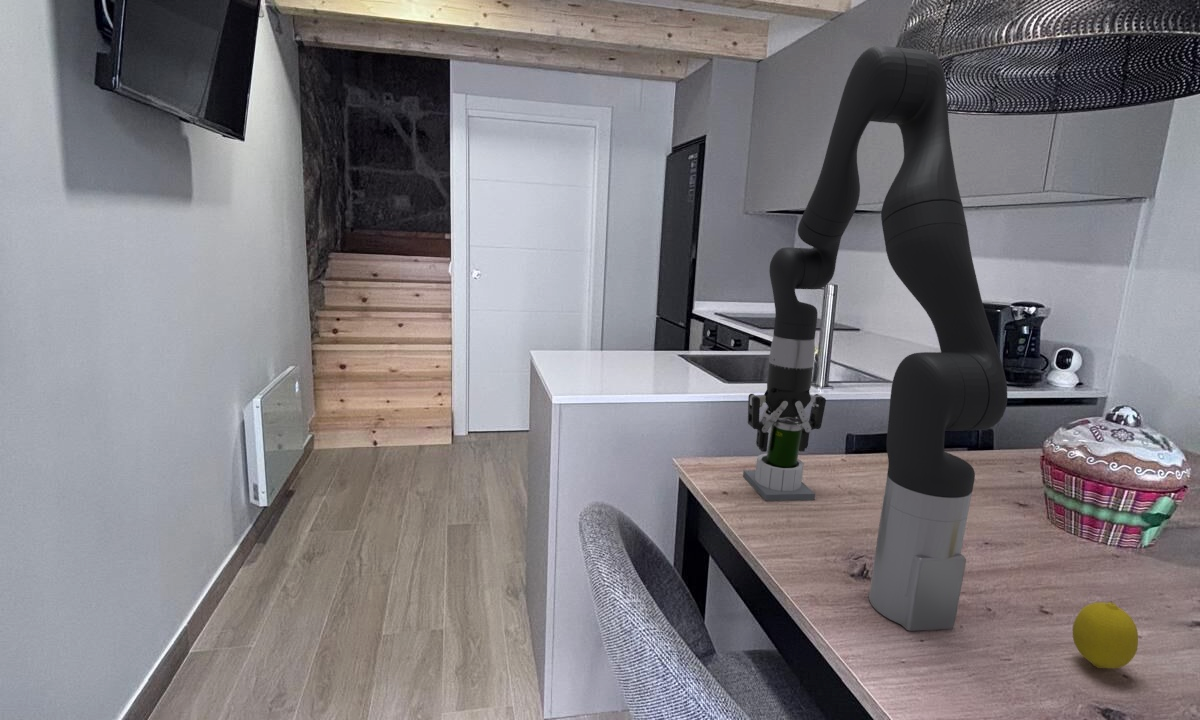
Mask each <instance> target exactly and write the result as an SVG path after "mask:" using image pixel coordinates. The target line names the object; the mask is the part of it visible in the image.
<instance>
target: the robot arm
mask: <svg viewBox="0 0 1200 720" xmlns="http://www.w3.org/2000/svg"><path fill="white" fill-rule="evenodd" d="M946 84H947V83H946V77H945V71H944V67H943V65H942V62H941V60H940V59H939V57H938V56H936V55H935V54H934V53H931V52H929V51H926V50H922V49H914V48H913V49H912V48H907V47H906V48H904V47H898V46H897V47H895V46H887V45H876V46H875V45H874V46H871V47H868V48H867V49H865V50H864V51H863V52H862V53H861V54H860V55H859V57H858V58H857V59H856V61H855V63H854V64H853V66H852V68H851V70H850V72H849V75H848V77H847V80H846V82H845V85H844V88H843V91H842V95H841V99H840V101H839V105H838V109H837V113H836V115H835V119H834V124H833V126H832V129H831V133H830V137H829V140H828V145H827V148H826V152H825V156H824V160H823V163H822V167H821V170H820V173H819V176H818V178H817V181H816V184H815V186H814V189H813V191H812V194H811V197H810V198H809V200H808V203H807V205H806V207H805V208H804V210H803V211H804V212H803V214H802V216H801V218H800V221H799V223H798V227H797V234H798V238H800V240H801V241H803V243H805V244H806V245H809V246H811V247H812V248H811V247H792V246H791V247H789V246H788V247H782V248H780V249H778V250H777V251H776V252H775V253H774V255H772V258H771V260H770V262H769V277H770V283H771V289H772V293H773V295H772V296H773V302H774V309H775V310H774V311H775V316H774V317H775V318H774V324H773V325H774V326H773V336H772V342H771V344H770V349H769V351H770V353H769V357H768V360H769V362H768V370H767V371H768V372H767V379H766V391H765V392H764V394H757V395H756V394H754V393H750V394H749V395H748V396H747V397H748V400H747V425H749V426H750V427H751V428H752V429H754V430H757V431H756V440H755V441H756V442H755V444H756V446H757V448H758V449H759V450H760V451H761V452H762V453H763V452H764V453H765V452H768V445H769V435H770V434H769V432H768V431H769V430H770V429H771V426H772V424H773V423H775V422H776V421H777V419H778V418H785V417H790V418H797V419H798V420H800V421H801V422H802V427H803V428H802V434H801V440H800V446H799V452H805V450H806V449H807V448H808V446H809V440H810V439H809V438H810V433H811V432H812V431H813V430H820V429H821V428H822V423H823V417H824V413H825V410H826V409H825V408H826V403H827V400H826V397H823V396H822V395H820V394H819V393H817V394H816V393H815V394H814V395H813V394H811V393H810V390H811V387H812V380H813V379H812V378H813V373H814V371H813V370H814V361H815V355H816V354H815V352H816V351H815V350H816V347H815V345H816V344H815V342H816V330H817V323H818V309H817V308H816V306H815V305H813V304H810V303H807V302H803V301H802V302H801V301H799V300H798V298H797V294H796V290H820V289H823V288H824V287H826V286H827V285H828V284H829V283H830V282H831V281H832V279H833V277H834V275H835V271H836V265H837V259H838V254H839V249H840V244H841V240H842V238H843V235H844V233H845V231H846V229H847V228H848V225H849V223H850V221H851V220H852V217H853V216H854V215H855V212H856V209H857V208H858V204H859V201H860V194H861V193H860V192H861V184H860V175H859V169H858V168H859V167H858V148H859V143H860V140H861V139H862V135H863V134H864V132H865V130H866V128H867V126H868V125H869V123H871V122H876V123H885V124H886V123H887V124H896V125H897V126H898V128H899V130H900V133H901V137H902V142H903V143H902V144H903V145H902V147H903V159H902V163H901V165H900V167H899V170H898V172H897V173H896V176H895V178H894V180H893V181H892V183H891V184H890V187H889V189H888V191H887V193H886V195H885V196H884V197H885V198H884V199H883V204H882V206H881V207H882V208H881V211H880V212H881V213H880V214H881V215H880V217H881V218H880V219H881V227H882V233H883V239H884V246H885V251H886V256H887V259H888V262H889V264H890V266H891V268H892V270H893V271H894V272H895V274H896V276H897V277H898V279H899V280H900V281H901V282H902V283H903V285H904V287H906V289H907V290H908V292H909V293H910V294H911V295H912V297H914V298H915V300H916V301H917V302H918V303H919V305H920V306H921V307H922V308H923V310H924V311H925V312H926V314H927V316H928V317H929V319H930V321H931V323H932V325H933V328H934V330H935V333H936V337H937V341H938V346H939V349H940V352H936V351H929V352H928V351H927V352H926V351H925V352H914V353H911V354H908V355H907V356H906V357H904V358H903V359H902V360H901V361H900V363H899V365H898V366H897V368H896V370H895V372H894V375H893V378H892V384H891V389H890V390H891V391H890V399H889V401H890V402H889V410H888V424H887V431H886V432H887V433H886V455H887V459H888V462H887V463H888V467H887V473H886V474H887V475H886V481H885V486H884V487H885V488H884V492H883V493H884V495H883V498H882V499H883V501H882V506H881V512H880V518H879V519H880V520H879V524H878V525H879V527H878V533H877V538H876V539H877V540H876V546H875V553H874V558H873V565H872V575H871V581H870V589H869V594H868V598H869V599H868V600H869V602H870V604H871V606H872V607H873V609H875V610H876V612H878V613H879V614H881V615H882V616H883V617H885V618H887V619H888V620H891V622H892V621H893V622H894V623H897V624H899V625H901V626H902V627H903V628H904V629H906V630H907V631H909V632H913V631H914V632H915V631H931V630H932V631H934V630H953V629H954V628H955V624H956V618H957V612H958V607H959V602H960V597H961V591H962V586H963V580H964V576H965V568H966V564H967V558H966V556H964V555H962V551H963V550H962V549H963V544H964V537H965V533H966V525H967V521H968V515H969V510H970V506H971V500H972V495H973V489H974V485H975V484H974V483H975V477H976V472H975V470H974V468H973V466H972V465H971V464H970V462H967V461H966V460H964V459H963V458H961V457H959V456H957V455H954V454H951V453H950V452H946V451H945V435H946V431H949V432H950V431H951V432H952V431H953V432H955V431H981V430H987V429H990V428H992V427H994V426H996V425H997V424H998V423H999V422H1000V421H1001V419H1002V418H1003V417H1004V414H1005V412H1006V409H1007V405H1008V385H1007V383H1008V382H1007V378H1006V374H1005V370H1004V365H1003V363H1002V360H1001V356H1000V354H999V353H1000V352H999V350H998V347H997V344H996V341H995V337H994V335H993V332H992V329H991V326H990V323H989V319H988V318H987V317H988V316H987V313H986V311H985V307H984V304H983V298H982V296H981V291H980V287H979V283H978V278H977V274H976V269H975V265H974V262H973V261H974V260H973V256H972V251H971V247H970V240H969V239H970V238H969V230H968V226H967V221H966V216H965V210H964V206H963V202H962V197H961V194H960V189H959V186H958V181H957V175H956V171H955V169H956V168H955V163H954V157H953V151H952V150H953V149H952V143H951V138H950V137H951V136H950V124H949V122H950V121H949V108H948V96H947V85H946ZM764 403H765V404H766V406H767V407H766V408H765V409H764V411H763V412H762V414H761V418H760V408H762V406H763V404H764ZM809 404H810V406H811V408H810V414H809V417H808V415H807V413H806V410H805V409H806V407H807V406H808V405H809Z"/></svg>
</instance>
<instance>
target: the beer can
mask: <svg viewBox="0 0 1200 720" xmlns="http://www.w3.org/2000/svg"><path fill="white" fill-rule="evenodd" d="M802 428H803V427H802V422H801V421H800V420H798V419H797V418H790V417H785V418H778V419H777V421H776V422H775V423H773V424H772V425H771V427H770V434H769V439H768V445H767V459H766V464H768V465H771V466H773V467H779V468H795V467H796V464H797V458H798V459H799V452H800V451H799V446H800V440H801V434H802Z"/></svg>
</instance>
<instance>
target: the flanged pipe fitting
mask: <svg viewBox="0 0 1200 720" xmlns="http://www.w3.org/2000/svg"><path fill="white" fill-rule="evenodd" d="M767 453H768V452H767ZM767 453H765V452H764V453H762V454H758V456H757V458H756V461H755V462H756V464H755V469H752V470H751V469H749V470H746V469H744V470H743V472H742V473H743V474H742V476H743V478H744V479H745V480H746V481H747V482H748V484H750V486H751V487H752V488H753V489H754V490H755V491H756V492H757V494H759V496H760V497H761V498H762V499H763V500H764V501H765V502H782V501H784V502H785V501H786V502H787V501H790V502H791V501H815V499H816V493H815V492H814V491H813V490H812V489H811V488H809V487H808V485H806V484H805V483H804V482H803V476H804V466H805V465H804V464H805V463H804V462H803V461H802V460H800V459H799V457H798V458H797V464H796V467H795V468H779V467H773V466H771V465H768V464H766V459H767Z"/></svg>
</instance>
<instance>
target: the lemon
mask: <svg viewBox="0 0 1200 720" xmlns="http://www.w3.org/2000/svg"><path fill="white" fill-rule="evenodd" d="M1072 625H1073V626H1072V638H1073V643H1074V645H1075V647H1076V649H1077V651H1078V652H1079V654H1081V656H1082V657H1083V658H1085V659H1086V660H1087V661H1088V662H1090V663H1091V665H1093V667H1094V666H1096V667H1098V668H1097V669H1103V668H1104V669H1105V668H1106V669H1119V668H1122V667H1124V666H1127V665H1128V664H1129V663H1130V662H1131V661H1132V660H1133V659H1134V657H1135V655H1137V651H1138V646H1139V634H1138V633H1139V632H1138V628H1137V625H1136V623H1135V621H1134V620H1133V618H1132V617H1131V616H1130V615H1129V613H1127V612H1126V611H1125V610H1123V609H1122V608H1120V607H1119V606H1118V605H1117V604H1116V603H1114V602H1101V601H1100V602H1092V603H1089V604H1088V605H1087V604H1086V605H1085V606H1084V607H1083V608H1081V610H1080V611H1079V612H1078V614H1077V615H1076V617H1075V619H1074V622H1073V624H1072ZM1096 667H1095V668H1096Z"/></svg>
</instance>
